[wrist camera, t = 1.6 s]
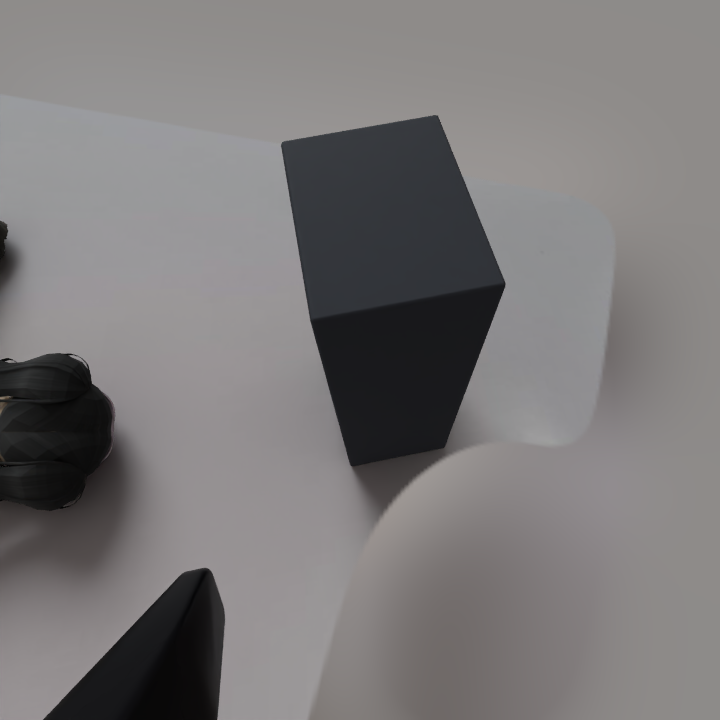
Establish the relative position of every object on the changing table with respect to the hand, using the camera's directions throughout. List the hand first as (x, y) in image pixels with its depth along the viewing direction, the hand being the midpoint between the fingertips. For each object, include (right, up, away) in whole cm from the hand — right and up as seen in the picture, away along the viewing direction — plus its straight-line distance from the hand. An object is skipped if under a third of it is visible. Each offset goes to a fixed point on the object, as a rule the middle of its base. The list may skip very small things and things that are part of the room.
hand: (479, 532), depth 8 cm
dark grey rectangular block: (-1, +1, +16) cm, 16 cm away
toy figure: (-21, -1, +16) cm, 26 cm away
